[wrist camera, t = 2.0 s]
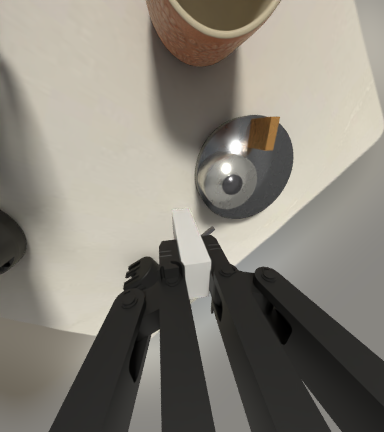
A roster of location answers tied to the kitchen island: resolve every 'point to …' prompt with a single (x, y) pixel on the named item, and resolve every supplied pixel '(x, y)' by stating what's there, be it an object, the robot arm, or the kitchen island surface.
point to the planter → (207, 26)
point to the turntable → (252, 159)
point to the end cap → (142, 274)
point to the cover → (227, 179)
